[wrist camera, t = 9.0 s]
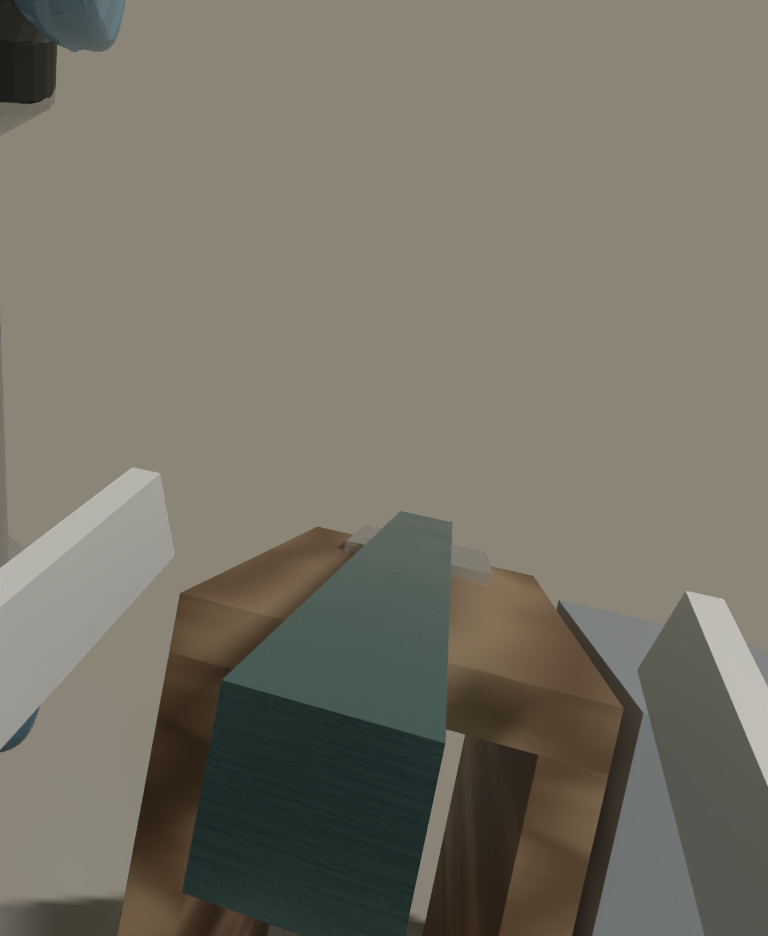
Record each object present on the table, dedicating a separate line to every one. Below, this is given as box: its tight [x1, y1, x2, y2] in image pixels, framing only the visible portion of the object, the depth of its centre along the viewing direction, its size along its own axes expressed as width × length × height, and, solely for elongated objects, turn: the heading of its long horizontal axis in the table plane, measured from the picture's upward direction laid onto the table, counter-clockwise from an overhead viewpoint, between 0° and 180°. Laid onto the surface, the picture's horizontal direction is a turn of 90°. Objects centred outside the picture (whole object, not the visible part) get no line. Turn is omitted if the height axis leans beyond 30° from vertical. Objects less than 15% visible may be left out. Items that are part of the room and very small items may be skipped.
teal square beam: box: [182, 511, 493, 936], centre depth 19 cm, size 8×26×3 cm, turn 171°
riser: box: [118, 527, 624, 936], centre depth 23 cm, size 14×16×30 cm
